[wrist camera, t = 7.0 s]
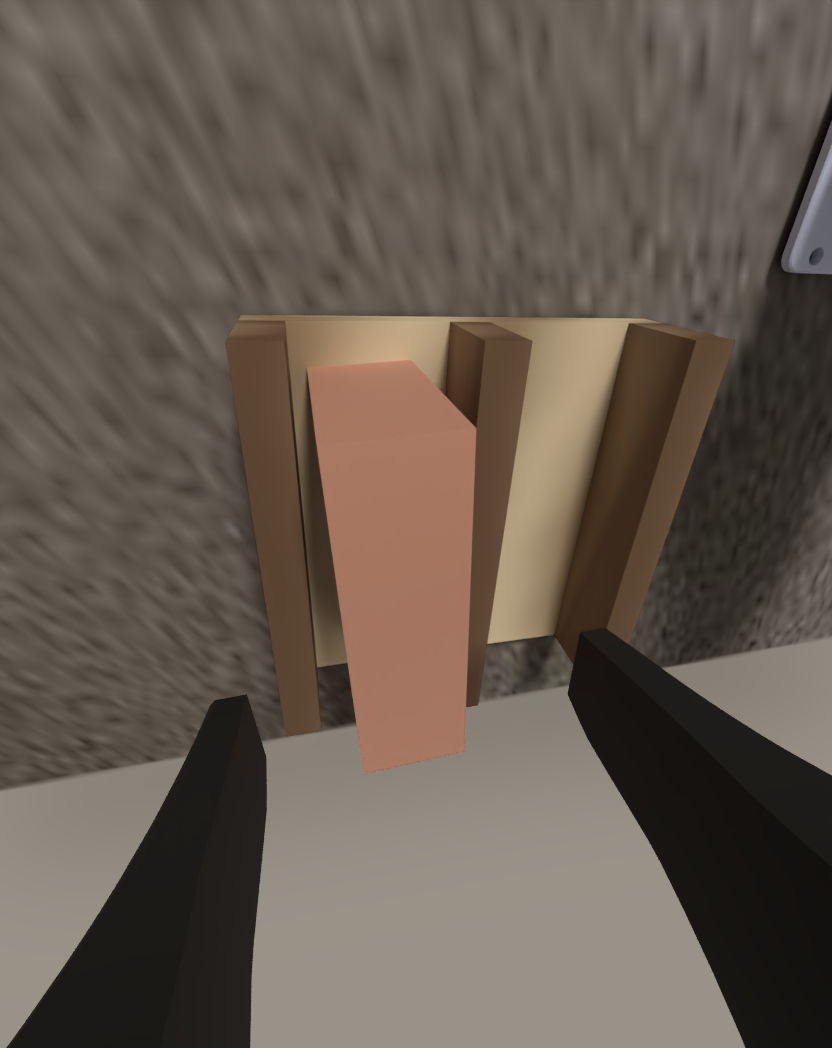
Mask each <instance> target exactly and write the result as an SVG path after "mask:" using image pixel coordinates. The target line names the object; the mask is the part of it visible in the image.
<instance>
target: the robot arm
mask: <svg viewBox="0 0 832 1048" xmlns="http://www.w3.org/2000/svg"><path fill="white" fill-rule="evenodd" d="M812 252H813V255H812V257H811V259H810V261H809V258H810V255H811V253H812ZM781 265H782V268H783V270H784V271H786V272H789V273H809V274H832V121H831V124H830V127H829V129H828V132H827V135H826V138H825V140H824V143H823V146H822V149H821V151H820V154H819V157H818V159H817V162H816V165H815V168H814V170H813V173H812V176H811V179H810V181H809V184H808V187H807V190H806V192H805V195H804V198H803V201H802V203H801V206H800V209H799V211H798V214H797V217H796V220H795V222H794V225H793V228H792V231H791V233H790V236H789V239H788V242H787V244H786V247H785V250H784V252H783V255H782V260H781ZM568 696H569V698H570V701H571V703H572V705H573V707H574V710H575V712H576V715H577V717H578V719H579V721H580V723H581V725H582V727H583V730H584V732H585V734H586V736H587V738H588V740H589V742H590V743H591V745H592V747H593V749H594V750H595V752H596V754H597V755H598V757H599V759H600V760H601V762H602V764H603V765H604V767H605V769H606V770H607V772H608V774H609V775H610V777H611V779H612V780H613V782H614V784H615V786H616V787H617V789H618V790H619V792H620V794H621V795H622V797H623V799H624V800H625V802H626V804H627V805H628V807H629V809H630V810H631V812H632V814H633V815H634V817H635V819H636V820H637V822H638V824H639V825H640V827H641V829H642V830H643V832H644V834H645V835H646V837H647V839H648V841H649V842H650V844H651V846H652V848H653V850H654V851H655V853H656V855H657V857H658V859H659V860H660V862H661V864H662V866H663V868H664V870H665V873H666V875H667V877H668V879H669V880H670V883H671V884H672V887H673V889H674V891H675V893H676V895H677V897H678V898H679V901H680V903H681V905H682V907H683V909H684V911H685V913H686V915H687V917H688V920H689V922H690V924H691V926H692V928H693V930H694V933H695V935H696V937H697V939H698V941H699V943H700V945H701V947H702V950H703V952H704V954H705V956H706V958H707V960H708V963H709V965H710V967H711V969H712V971H713V973H714V976H715V978H716V980H717V983H718V985H719V987H720V990H721V992H722V994H723V996H724V998H725V1001H726V1003H727V1006H728V1008H729V1010H730V1012H731V1015H732V1017H733V1019H734V1022H735V1024H736V1026H737V1028H738V1031H739V1033H740V1035H741V1038H742V1040H743V1043H744V1045H745V1047H746V1048H832V775H830V774H828V773H826V772H824V771H823V770H821V769H819V768H817V767H815V766H814V765H812V764H810V763H808V762H806V761H805V760H803V759H801V758H799V757H798V756H796V755H794V754H792V753H790V752H789V751H787V750H785V749H784V748H782V747H780V746H779V745H777V744H775V743H773V742H772V741H770V740H768V739H767V738H765V737H763V736H762V735H760V734H759V733H757V732H755V731H754V730H752V729H751V728H749V727H748V726H746V725H744V724H743V723H741V722H740V721H738V720H737V719H735V718H733V717H732V716H730V715H729V714H727V713H726V712H724V711H723V710H721V709H720V708H718V707H717V706H715V705H714V704H712V703H710V702H709V701H708V700H706V699H704V698H703V697H701V696H700V695H699V694H697V693H696V692H694V691H693V690H692V689H690V688H689V687H687V686H686V685H684V684H683V683H681V682H680V681H678V680H677V679H676V678H674V677H673V676H672V675H670V674H668V673H667V672H666V671H665V670H663V669H662V668H660V667H659V666H658V665H656V664H655V663H654V662H652V661H651V660H649V659H648V658H647V657H645V656H644V655H642V654H641V653H640V652H638V651H637V650H636V649H634V648H633V647H631V646H630V645H629V644H627V643H626V642H625V641H623V640H622V639H620V638H619V637H618V636H616V635H615V634H613V633H612V632H611V631H609V630H608V629H606V628H600V629H595V630H589V631H584V632H580V635H579V640H578V645H577V650H576V655H575V660H574V665H573V670H572V675H571V680H570V685H569V690H568ZM266 781H267V780H266V755H265V752H264V748H263V745H262V742H261V739H260V735H259V732H258V729H257V726H256V723H255V719H254V716H253V713H252V710H251V706H250V703H249V700H248V697H247V695H241V696H236V697H231V698H225V699H220V700H215V701H214V702H213V703H212V704H211V705H210V707H209V710H208V712H207V714H206V717H205V719H204V721H203V723H202V726H201V728H200V730H199V732H198V734H197V737H196V739H195V741H194V743H193V745H192V747H191V749H190V752H189V754H188V756H187V758H186V760H185V762H184V764H183V766H182V768H181V770H180V772H179V774H178V776H177V778H176V780H175V782H174V784H173V786H172V787H171V789H170V791H169V793H168V795H167V797H166V799H165V801H164V803H163V804H162V806H161V808H160V810H159V812H158V814H157V816H156V818H155V820H154V821H153V823H152V825H151V827H150V828H149V830H148V832H147V834H146V835H145V837H144V839H143V841H142V842H141V844H140V846H139V848H138V849H137V851H136V853H135V854H134V856H133V858H132V859H131V861H130V863H129V865H128V866H127V868H126V870H125V872H124V873H123V875H122V877H121V879H120V880H119V882H118V883H117V885H116V887H115V889H114V890H113V891H112V893H111V895H110V896H109V898H108V900H107V901H106V903H105V904H104V906H103V908H102V909H101V911H100V913H99V914H98V915H97V917H96V919H95V920H94V922H93V923H92V925H91V926H90V928H89V929H88V931H87V933H86V934H85V936H84V937H83V939H82V940H81V942H80V943H79V945H78V946H77V948H76V949H75V951H74V952H73V954H72V955H71V957H70V958H69V960H68V961H67V963H66V964H65V966H64V967H63V969H62V970H61V972H60V973H59V974H58V976H57V977H56V979H55V980H54V982H53V983H52V985H51V986H50V987H49V989H48V990H47V991H46V993H45V994H44V996H43V997H42V999H41V1000H40V1002H39V1003H38V1004H37V1006H36V1007H35V1009H34V1010H33V1012H32V1013H31V1014H30V1016H29V1017H28V1019H27V1020H26V1022H25V1023H24V1024H23V1026H22V1027H21V1029H20V1030H19V1031H18V1033H17V1034H16V1036H15V1037H14V1038H13V1040H12V1041H11V1042H10V1044H9V1045H8V1046H7V1048H250V1025H251V977H252V976H251V975H252V961H253V960H252V959H253V945H254V934H255V925H256V914H257V904H258V894H259V884H260V873H261V864H262V853H263V843H264V833H265V822H266V821H265V820H266V811H267V810H266V809H267V806H266V805H267V802H266V801H267V784H266Z"/></svg>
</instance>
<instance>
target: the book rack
mask: <svg viewBox="0 0 832 1048" xmlns="http://www.w3.org/2000/svg"><path fill="white" fill-rule="evenodd" d="M225 343H226V349H227V356H228V362H229V369H230V375H231V382H232V388H233V395H234V401H235V408H236V414H237V421H238V427H239V434H240V440H241V447H242V454H243V460H244V467H245V473H246V480H247V486H248V493H249V499H250V506H251V512H252V519H253V525H254V532H255V538H256V545H257V551H258V558H259V564H260V571H261V577H262V584H263V590H264V597H265V603H266V610H267V616H268V623H269V629H270V636H271V642H272V649H273V656H274V662H275V669H276V675H277V682H278V688H279V695H280V701H281V708H282V714H283V721H284V727H285V734H286V737H287V736H294V735H300V734H306V733H312V732H318V731H321V720H320V704H319V688H318V672H317V667H322V666H329V665H336V664H344V663H348V662H347V655H346V648H345V641H344V634H343V627H342V620H341V613H340V606H339V599H338V592H337V585H336V578H335V571H334V564H333V557H332V550H331V543H330V536H329V529H328V522H327V515H326V508H325V501H324V494H323V487H322V480H321V473H320V466H319V459H318V452H317V445H316V437H315V429H314V421H313V413H312V405H311V397H310V389H309V381H308V373H307V368H314V367H327V366H339V365H352V364H364V363H377V362H389V361H402V360H411V361H412V362H413V363H414V364H415V365H416V366H417V367H418V368H419V369H420V370H421V371H422V372H423V373H424V374H425V375H426V376H427V377H428V378H429V379H430V380H431V382H432V383H433V384H434V385H435V386H436V387H437V388H438V389H439V390H440V391H441V392H442V393H443V394H444V395H445V396H446V397H447V398H448V399H449V400H450V401H451V402H452V403H453V404H454V406H455V407H456V408H457V409H458V410H459V411H460V412H461V413H462V414H463V415H464V416H465V417H466V418H467V419H468V420H469V421H470V422H471V423H472V424H473V425H474V426H475V427H476V451H475V478H474V504H473V531H472V558H471V585H470V612H469V638H468V665H467V692H466V707H471V706H477V705H478V702H479V695H480V689H481V682H482V675H483V669H484V662H485V655H486V649H487V644H490V643H497V642H504V641H512V640H519V639H526V638H533V637H541V636H548V635H555V637H556V639H557V640H558V642H559V643H560V645H561V646H562V648H563V649H564V651H565V652H566V654H567V655H568V657H569V658H570V660H571V661H572V663H573V664H574V660H575V655H576V650H577V645H578V640H579V635H580V632H584V631H589V630H595V629H600V628H606V629H608V630H609V631H611V632H612V633H613V634H615V635H616V636H618V637H619V638H620V639H622V640H623V641H625V642H626V643H627V644H629V643H630V640H631V637H632V634H633V632H634V629H635V626H636V623H637V620H638V617H639V614H640V612H641V609H642V606H643V603H644V600H645V597H646V594H647V592H648V589H649V586H650V583H651V580H652V577H653V574H654V572H655V569H656V566H657V563H658V560H659V557H660V554H661V552H662V549H663V546H664V543H665V540H666V537H667V534H668V532H669V529H670V526H671V523H672V520H673V517H674V514H675V512H676V509H677V506H678V503H679V500H680V497H681V494H682V492H683V489H684V486H685V483H686V480H687V477H688V474H689V472H690V469H691V466H692V463H693V460H694V457H695V454H696V452H697V449H698V446H699V443H700V440H701V437H702V434H703V432H704V429H705V426H706V423H707V420H708V417H709V414H710V412H711V409H712V406H713V403H714V400H715V397H716V394H717V392H718V389H719V386H720V383H721V380H722V377H723V374H724V372H725V369H726V366H727V363H728V360H729V357H730V354H731V352H732V349H733V346H734V343H735V340H731V339H726V338H722V337H718V336H714V335H710V334H706V333H701V332H697V331H693V330H689V329H685V328H680V327H676V326H672V325H668V324H664V323H660V322H655V321H651V320H647V319H630V318H520V317H410V316H300V315H241V316H240V318H239V320H238V321H237V323H236V325H235V326H234V328H233V329H232V331H231V333H230V334H229V336H228V338H227V339H226V341H225Z"/></svg>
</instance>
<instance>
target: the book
mask: <svg viewBox="0 0 832 1048" xmlns="http://www.w3.org/2000/svg"><path fill="white" fill-rule="evenodd" d="M307 373H308V381H309V389H310V397H311V405H312V413H313V421H314V429H315V437H316V445H317V452H318V459H319V466H320V473H321V480H322V487H323V494H324V501H325V508H326V515H327V522H328V529H329V536H330V543H331V550H332V557H333V564H334V571H335V578H336V585H337V592H338V599H339V606H340V613H341V620H342V627H343V634H344V641H345V648H346V655H347V662H348V669H349V676H350V683H351V690H352V696H353V703H354V710H355V717H356V724H357V731H358V738H359V745H360V751H361V759H362V766H363V773H364V774H366V773H370V772H375V771H379V770H384V769H388V768H392V767H397V766H402V765H406V764H410V763H415V762H419V761H424V760H428V759H432V758H437V757H441V756H446V755H450V754H455V753H459V752H463V751H464V744H465V718H466V692H467V665H468V638H469V612H470V585H471V558H472V531H473V504H474V478H475V451H476V427H475V426H474V425H473V424H472V423H471V422H470V421H469V420H468V419H467V418H466V417H465V416H464V415H463V414H462V413H461V412H460V411H459V410H458V409H457V408H456V407H455V406H454V404H453V403H452V402H451V401H450V400H449V399H448V398H447V397H446V396H445V395H444V394H443V393H442V392H441V391H440V390H439V389H438V388H437V387H436V386H435V385H434V384H433V383H432V382H431V380H430V379H429V378H428V377H427V376H426V375H425V374H424V373H423V372H422V371H421V370H420V369H419V368H418V367H417V366H416V365H415V364H414V363H413V362H412V361H411V360H402V361H389V362H377V363H364V364H352V365H339V366H327V367H314V368H307Z"/></svg>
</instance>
